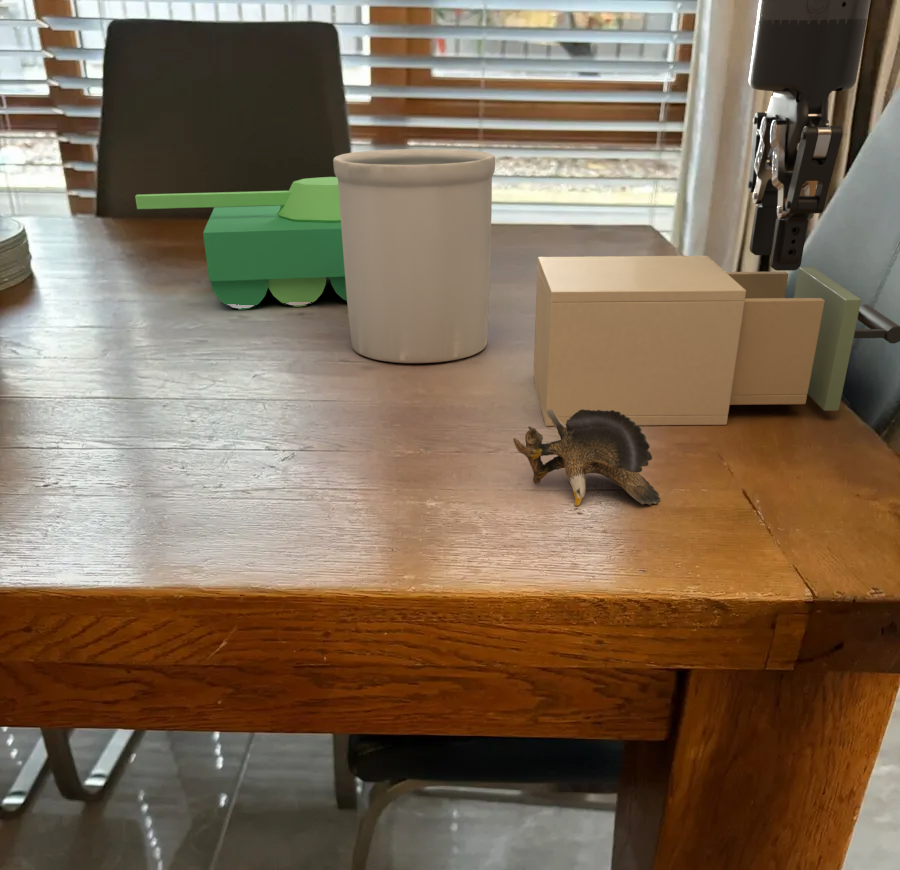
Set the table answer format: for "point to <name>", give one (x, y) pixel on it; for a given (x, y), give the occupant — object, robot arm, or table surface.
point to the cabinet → (637, 338)
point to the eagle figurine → (594, 452)
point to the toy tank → (269, 240)
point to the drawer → (799, 338)
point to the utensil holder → (416, 251)
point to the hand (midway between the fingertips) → (773, 260)
